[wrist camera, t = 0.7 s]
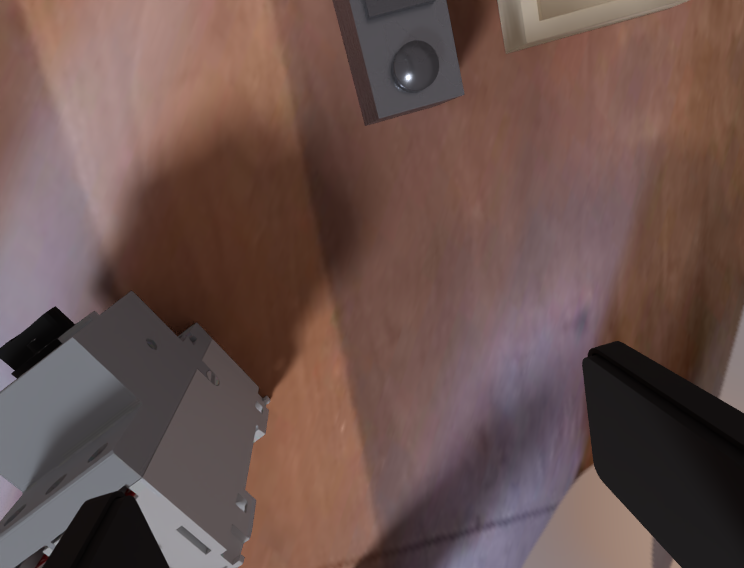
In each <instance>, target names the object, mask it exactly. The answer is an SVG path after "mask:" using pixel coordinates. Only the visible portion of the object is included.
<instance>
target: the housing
mask: <svg viewBox="0 0 744 568" xmlns="http://www.w3.org/2000/svg"><path fill="white" fill-rule="evenodd" d="M333 4H334V8H335V12H336V16H337V19H338V23H339V27H340V31H341V35H342V39H343V43H344V46H345V50H346V54H347V58H348V62H349V66H350V70H351V73H352V77H353V81H354V85H355V89H356V93H357V97H358V100H359V104H360V108H361V112H362V116H363V120H364V124H365V126H367V125H370V124H374V123H378V122H381V121H385V120H388V119H392V118H395V117H399V116H402V115H406V114H409V113H413V112H417V111H420V110H424V109H427V108H431V107H434V106H437V105H440V104H442V103H445V102H447V101H450V100H452V99H455V98H457V97H460V96H462V95H464V90H463V85H462V79H461V74H460V69H459V64H458V59H457V53H456V48H455V43H454V38H453V33H452V27H451V22H450V17H449V12H448V7H447V2H446V0H333Z"/></svg>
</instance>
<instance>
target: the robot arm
mask: <svg viewBox="0 0 744 568" xmlns="http://www.w3.org/2000/svg"><path fill="white" fill-rule="evenodd" d="M582 367H583V375H584V384H585V393H586V401H587V410H588V419H589V427H590V436H591V445H592V453H593V462H594V466H595V469H596V471H597V474H598V475H599V477H600V479H601V480H602V481H603V482H604V484H605V485H606V486H607V487H608V488H609V489H610V490H611V491H612V492H613V493H614V495H615V496H616V497H617V498H618V499H619V500H620V501H621V502H622V503H623V504H624V505H625V506H626V508H627V509H628V510H629V511H630V512H631V513H632V514H633V515H634V516H635V517H636V518H637V519H638V520H639V522H640V523H641V524H642V525H643V526H644V527H645V528H646V529H647V530H648V531H649V533H650V534H651V535H652V536H653V537H654V538H655V539H656V540H657V541H658V542H659V543H660V545H661V546H662V547H663V548H664V549H665V550H666V551H667V552H668V553H669V554H670V555H671V556H672V558H673V559H674V560H675V561H676V562H677V563H678V564H679V565H680V566H681V567H682V568H744V413H742V412H741V411H739V410H737V409H736V408H734V407H732V406H730V405H729V404H727V403H725V402H723V401H722V400H720V399H718V398H717V397H715V396H713V395H712V394H710V393H708V392H706V391H705V390H703V389H701V388H699V387H698V386H696V385H694V384H693V383H691V382H689V381H687V380H686V379H684V378H682V377H681V376H679V375H677V374H675V373H674V372H672V371H670V370H669V369H667V368H665V367H663V366H662V365H660V364H658V363H657V362H655V361H653V360H651V359H650V358H648V357H646V356H644V355H643V354H641V353H639V352H638V351H636V350H634V349H632V348H631V347H629V346H627V345H626V344H624V343H622V342H619V341H615V342H612V343H608V344H605V345H602V346H598V347H595V348H592V349H590V350H589V352H588V357H587V358H584V359H583V362H582ZM42 568H170V567H169V565H168V563H167V561H166V559H165V557H164V555H163V553H162V551H161V549H160V547H159V545H158V543H157V541H156V539H155V537H154V535H153V533H152V531H151V529H150V527H149V525H148V523H147V521H146V519H145V517H144V515H143V513H142V511H141V509H140V507H139V505H138V503H137V501H136V499H135V498H134V497H133V496H131V495H128V496H126V495H125V494H124V493H123V492H122V491H115V492H111V493H108V494H105V495H101V496H98V497H95V498H91V499H89V500H87V501H85V502H84V503H83V504H82V506H81V507H80V509H79V510H78V512H77V514H76V515H75V517H74V518H73V520H72V521H71V523H70V525H69V526H68V528H67V529H66V531H65V532H64V534H63V536H62V537H61V539H60V540H59V542H58V543H57V545H56V546H55V548H54V550H53V551H52V553H51V554H50V556H49V557H48V559H47V561H46V562H45V564H44V565H43V567H42Z"/></svg>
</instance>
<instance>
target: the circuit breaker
mask: <svg viewBox="0 0 744 568" xmlns="http://www.w3.org/2000/svg"><path fill="white" fill-rule="evenodd" d="M0 359H2V360H3V361H4V362H5V363H6V364H8V365H9V366H10V367H11V368H12V369H14V370H15V371H14V372H13V373H11V374H12V375H13V376H14V377H15V378H17V379H16V380H15V381H14V382H12V383H11V384H10V385H8V386H7V387H6V388H4V389H3V390H2V391H1V392H0V475H1V476H2V477H4V478H5V479H6V480H8V481H9V482H10V483H12V484H13V485H14V486H15V487H17V488H18V489H19V490H21V491H22V493H23V495H22V496H21V497H20V498H19V500H18V501H17V502H16V503H15V504H14V506H13V507H12V508H11V509H10V510H9V512H8V513H7V514H6V515H5V517H4V518H3V519H2V520H1V521H0V568H42V567H43V565H44V564H45V562H46V561H47V559H48V557H49V556H50V554H51V553H52V551H53V550H54V548H55V546H56V545H57V543H58V542H59V540H60V539H61V537H62V536H63V534H64V532H65V531H66V529H67V528H68V526H69V525H70V523H71V521H72V520H73V518H74V517H75V515H76V514H77V512H78V510H79V509H80V507H81V506H82V504H83V503H84V502H85V501H87V500H89V499H91V498H95V497H98V496H101V495H105V494H108V493H111V492H115V491H122V492H123V493H124V494H125V495H126V496H128V495H131V496H133V497H134V498H135V499H136V501H137V503H138V505H139V507H140V509H141V511H142V513H143V515H144V517H145V519H146V521H147V523H148V525H149V527H150V529H151V531H152V533H153V535H154V537H155V539H156V541H157V543H158V545H159V547H160V549H161V551H162V553H163V555H164V557H165V559H166V561H167V563H168V565H169V567H170V568H238V567H239V566H240V565H242V564H243V562H244V558H245V557H244V556H242V555H241V550H242V547H243V543H245V542H246V541H248V540H249V539H250V536H251V532H252V526H253V519H254V512H255V505H256V500H255V499H254V498H253V497H252V496H251V495H250V494H249V493H248V492H247V491H246V490H245V487H246V481H247V476H248V470H249V464H250V459H251V453H252V448H253V443H254V442H255V441H257V440H258V439H259V438H261V437H262V436H263V435H265V434H266V427H267V420H268V413H269V410H268V409H267V408H266V404H268V403H269V402H270V398H269V397H268V396H265V397H264V398H262V397H261V396H260V395H259V394H258V390H259V387H258V386H257V385H256V384H255V383H254V382H253V381H252V380H251V379H250V377H249V376H248V375H247V374H246V373H245V372H244V371H243V370H242V369H241V368H240V367H239V366H238V365H237V364H236V363H235V362H234V361H233V360H232V359H231V358H230V357H229V356H228V354H227V353H226V352H225V351H224V350H223V349H222V348H221V347H220V346H219V345H218V344H217V343H216V342H215V341H214V340H213V339H212V338H211V337H210V336H209V335H208V334H207V333H206V331H205V330H204V329H203V328H202V327H201V326H200V325H199V324H198V323H195V324H193V325H192V326H191V327H189V328H188V329H187V330H186V331H184V332H183V333H182V334H180V335H179V336H178V337H177V336H176V335H175V333H174V332H173V331H172V330H171V329H170V328H169V327H168V326H167V325H166V324H165V323H164V322H163V321H162V320H161V319H160V318H159V317H158V316H157V315H156V314H155V313H154V312H153V311H152V310H151V309H150V308H149V307H148V306H147V305H146V304H145V303H144V302H143V301H142V300H141V299H140V298H139V297H138V296H137V295H136V294H135V293H134V292H133V291H130V292H129V293H128V294H126V295H125V296H124V297H123V298H121V299H120V300H119V301H117V302H116V303H115V304H113V305H112V306H111V307H109V308H108V309H107V310H106V311H104V312H103V313H102V314H100V315H99V314H98V313H96V312H95V311H93V312H92V313H90V314H89V315H88V316H86V317H85V318H84V319H82V320H81V321H80V322H78V323H77V324H74V323H73V322H72V321H71V320H70V319H69V318H68V317H67V316H65V315H64V314H63V313H62V312H61V311H60V310H59V309H58V308H57V307H56V306H55V307H53V308H52V309H50V310H49V311H47V312H46V313H45V314H43V315H42V316H41V317H40V318H39V319H37V320H36V321H35V322H34V323H33V324H32V325H31V326H29V327H28V328H27V329H26V330H25V331H23V332H22V333H21V334H19V335H18V336H16V337H15V338H13V339H11V340H10V341H8V342H7V343H6V344H5V345H3V346H2V347H1V348H0Z"/></svg>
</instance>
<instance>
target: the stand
mask: <svg viewBox="0 0 744 568" xmlns="http://www.w3.org/2000/svg"><path fill="white" fill-rule="evenodd" d="M686 1H689V0H497V2H498V8H499V14H500V20H501V26H502V33H503V39H504V45H505V51H506V54H507V53H511V52H514V51H518V50H521V49H525V48H529V47H532V46H536V45H539V44H543V43H547V42H550V41H554V40H558V39H561V38H565V37H568V36H572V35H576V34H579V33H583V32H586V31H590V30H594V29H597V28H601V27H604V26H608V25H612V24H615V23H619V22H622V21H626V20H630V19H633V18H637V17H641V16H644V15H648V14H651V13H655V12H659V11H662V10H666V9H669V8H672V7H674V6H676V5H679V4H681V3H684V2H686Z"/></svg>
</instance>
